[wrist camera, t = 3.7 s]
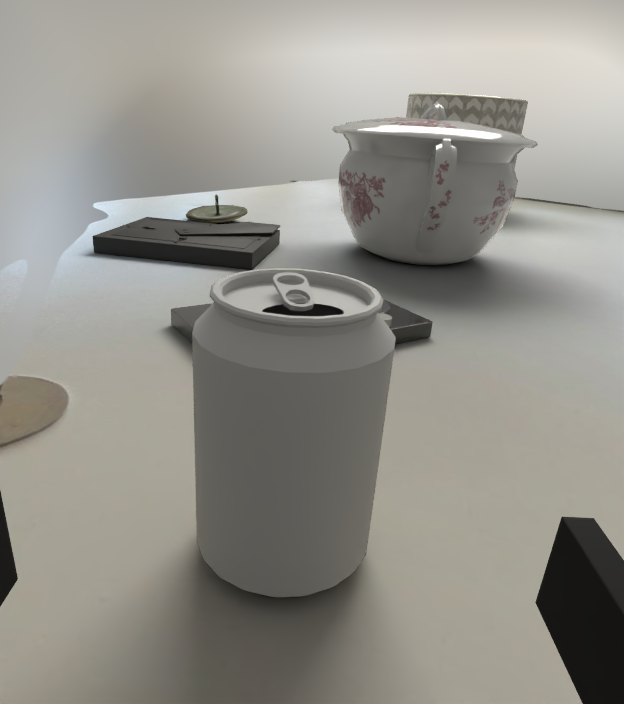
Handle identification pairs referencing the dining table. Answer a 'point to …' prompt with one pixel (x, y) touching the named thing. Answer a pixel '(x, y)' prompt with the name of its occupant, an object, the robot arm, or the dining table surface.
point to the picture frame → (191, 241)
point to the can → (288, 427)
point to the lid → (216, 213)
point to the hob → (397, 318)
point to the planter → (473, 110)
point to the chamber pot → (427, 186)
